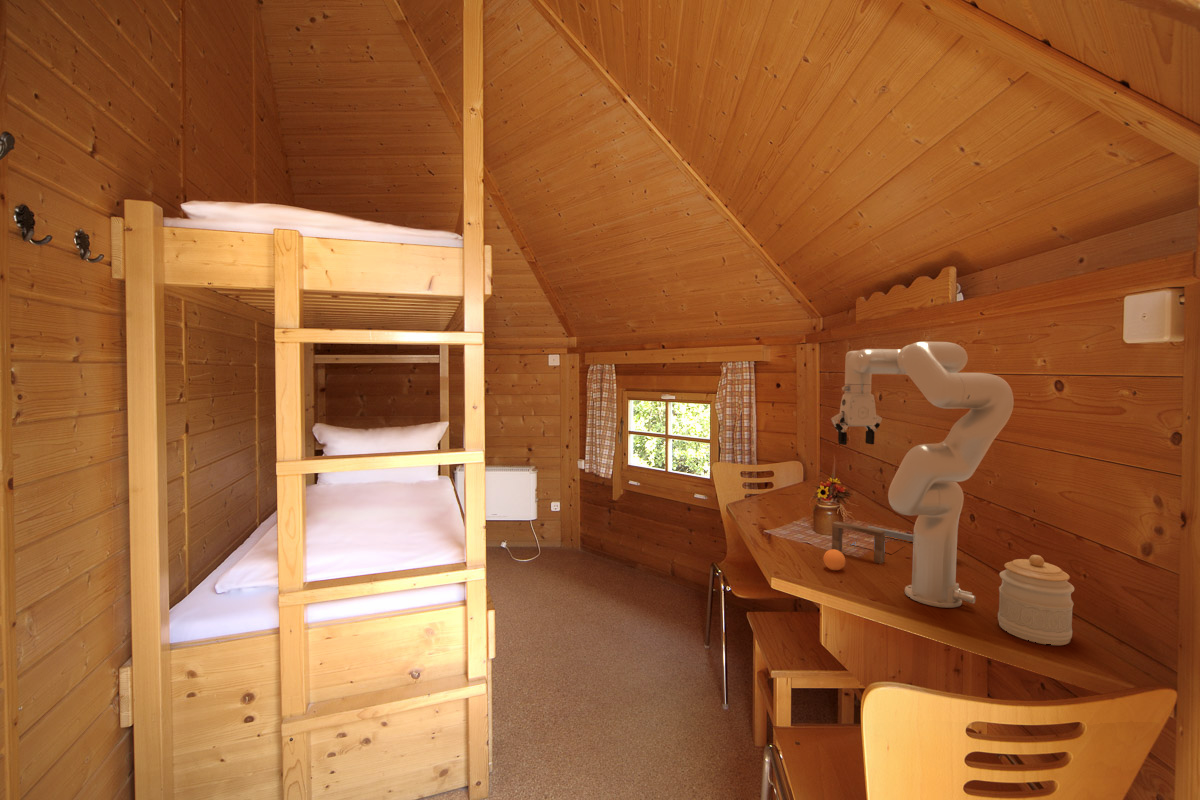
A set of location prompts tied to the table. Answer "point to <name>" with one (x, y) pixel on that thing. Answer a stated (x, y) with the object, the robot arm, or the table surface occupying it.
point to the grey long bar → (895, 534)
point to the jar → (1036, 601)
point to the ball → (834, 559)
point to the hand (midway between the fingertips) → (856, 444)
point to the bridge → (879, 534)
